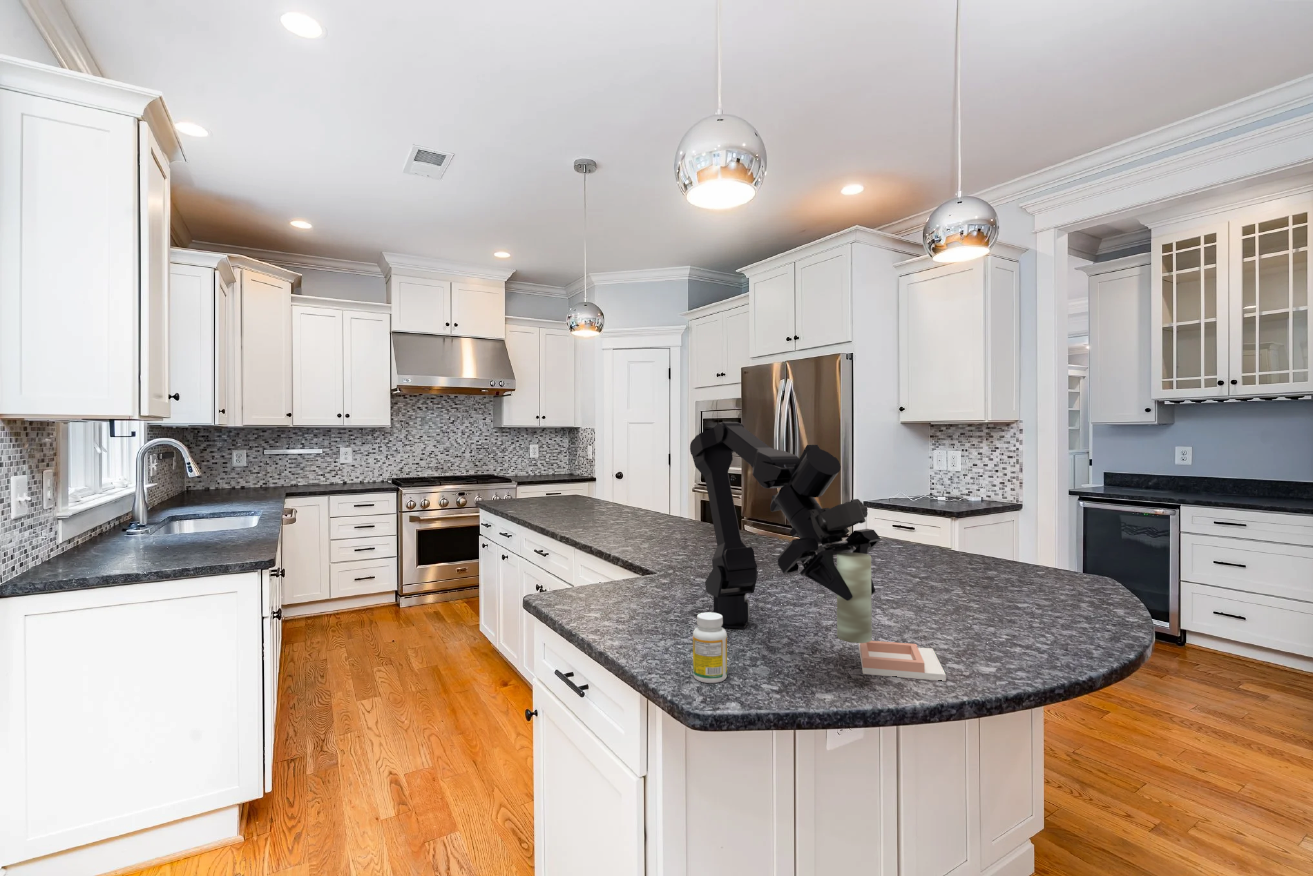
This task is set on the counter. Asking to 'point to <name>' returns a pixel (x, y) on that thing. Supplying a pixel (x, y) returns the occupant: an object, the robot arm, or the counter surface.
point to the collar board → (900, 660)
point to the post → (855, 598)
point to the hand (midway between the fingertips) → (861, 596)
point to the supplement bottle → (710, 648)
